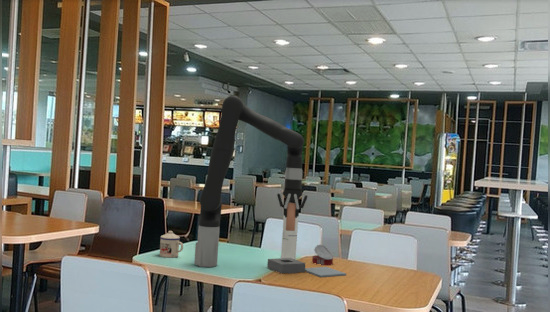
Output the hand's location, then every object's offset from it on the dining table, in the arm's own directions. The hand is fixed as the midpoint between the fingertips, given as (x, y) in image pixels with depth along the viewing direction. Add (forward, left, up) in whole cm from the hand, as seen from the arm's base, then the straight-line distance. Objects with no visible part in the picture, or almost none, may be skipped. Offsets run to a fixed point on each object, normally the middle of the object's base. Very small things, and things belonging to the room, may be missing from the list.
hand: (291, 217), depth 223 cm
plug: (0, 0, -6) cm, 6 cm away
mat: (+13, -9, -23) cm, 28 cm away
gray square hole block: (-1, 0, -23) cm, 23 cm away
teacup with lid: (-39, +40, -24) cm, 61 cm away
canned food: (+26, +9, -24) cm, 37 cm away
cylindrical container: (+12, +18, -24) cm, 32 cm away
